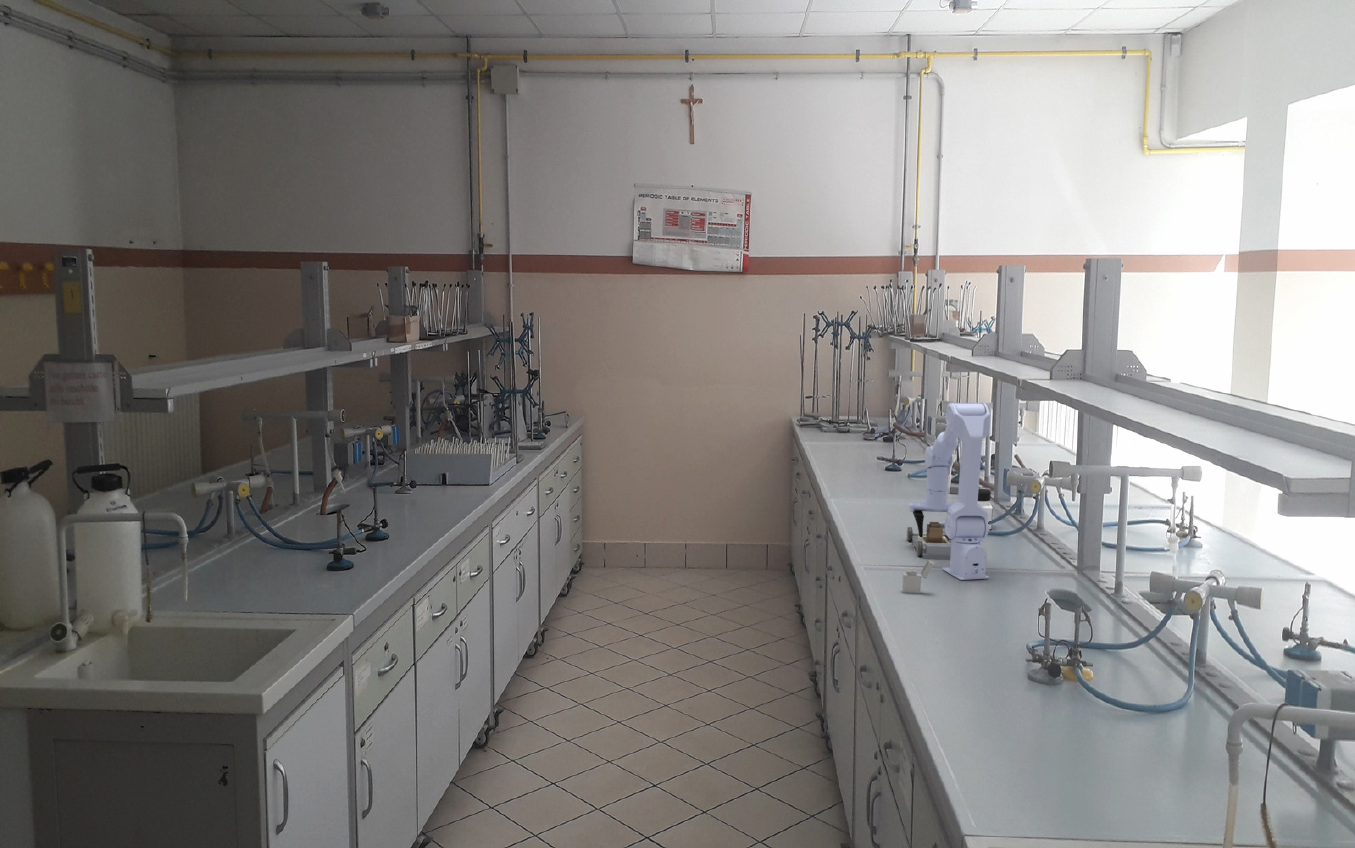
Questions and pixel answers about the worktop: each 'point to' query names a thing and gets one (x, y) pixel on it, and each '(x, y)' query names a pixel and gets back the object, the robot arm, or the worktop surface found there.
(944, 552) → the chassis
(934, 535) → the brown wooden block
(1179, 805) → the worktop surface
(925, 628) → the worktop surface
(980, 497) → the medicine bottle
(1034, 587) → the worktop surface
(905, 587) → the lighter
